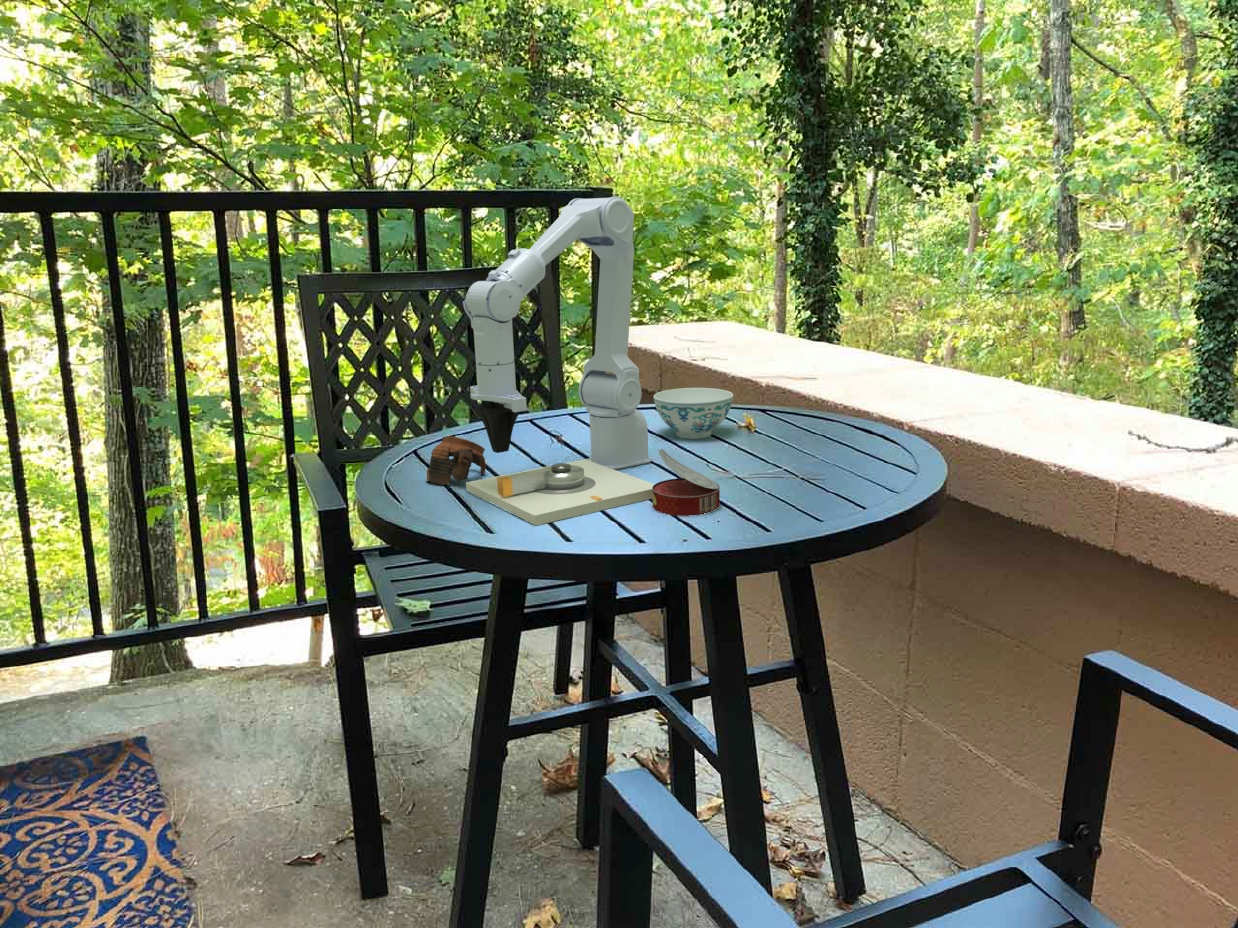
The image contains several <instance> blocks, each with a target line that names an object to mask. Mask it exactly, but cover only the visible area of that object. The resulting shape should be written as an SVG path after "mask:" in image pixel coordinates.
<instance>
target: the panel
mask: <svg viewBox="0 0 1238 928" xmlns="http://www.w3.org/2000/svg"><path fill="white" fill-rule="evenodd" d="M585 459H586V458H584V459H579V460H573V461H568V462H565V463H566V464H570V465H574V466H579V467H582V468H583V469H584V484H583V485H582V486H580V487H577V488H572V489H565V490H551V489H545V488H543V489H539V490H534V491H529V492H524V493H519V494H515V495H510V496H505V497H503V496H501V495H499V494H498V485H497V477H501V476H506V475H511V474H516V473H521V472H527V471H532V470H537V469H542V468H545V467H549V466H550V465H548V466H543V467H538V468H533V469H528V470H523V471H518V472H517V471H516V472H512V473H508V474H502V475H498V476H492V477H486V478H482V479H477V480H473V481H472V480H471V481H467V482H465V488H466V490H467V491H469V492H470V493H473V494H474V495H476V496H478V497H480V498H482V499H484V500H486V501H488V502H492V503H494V504H495V505H498V506H499V507H501V508H503V509H505V510H507V511H509V512H511V513H513V514H514V515H516V516H518V517H520V518H522V519H524V520H526V521H527V522H526V521H525V522H526V523H528V522H529V523H528V524H530V523H531V524H530V525H532V524H533V526H540V525H544V524H548V523H552V522H553V521H554V522H557V521H561V520H566V519H570V518H574V517H579V516H583V515H584V516H585V515H587V514H591V513H596V512H601V511H605V510H609V509H614V508H617V507H621V506H626V505H631V504H634V503H639V502H640V503H641V502H643V501H647V500H653V494H652V487H653V486H654V485H655V484H656V483H653V482H650V481H646V480H644V479H641V478H638V477H635V476H632V475H630V474H627V473H625V472H621V471H619V470H617V469H615V470H613V469H610V468H608V467H605V466H602V465H599V464H596V463H594V462H591V461H588V460H585ZM466 490H465V491H466ZM470 493H469V494H470ZM474 495H473V496H474ZM476 496H475V497H476ZM478 497H477V498H478ZM480 498H479V499H480ZM482 499H481V500H482ZM484 500H483V501H484ZM486 501H485V502H486ZM488 502H487V503H488ZM514 515H513V516H514ZM516 516H515V517H516ZM518 517H517V518H518ZM520 518H519V519H520ZM522 519H521V520H522ZM524 520H523V521H524Z"/></svg>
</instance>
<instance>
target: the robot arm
mask: <svg viewBox="0 0 1238 928" xmlns="http://www.w3.org/2000/svg"><path fill="white" fill-rule="evenodd" d="M634 222H635V212H634V211H633V210H632V208H631V207H630V206H629V205H628V203H627V201H626V200H625V199H624V198H622V197H621V196H611V197H597V198H596V197H594V198H583V197H582V198H581V197H580V198H579V197H577V198H573V199H572V200H570V201H569V202H568V204H567V205H565V206H563V207H562V208H561V209H560V214H559V216H558V218H557V219H556V220H554V222H553V223H552V224H551V225H550V226H549V227H548V228H547V229H546V230H545V231H544V233H542V235H540V237H539V238H538V239H537V240H536V241H535V242H534V243H533V244H532V246H531V247H530V248H529V249H528V248H526V247H524V248H522V247H521V248H518V249H512V250H510V251H509V252H508V253H507V256H508V258H507V259H505V261H504V262H502V263H501V264H500V265H499V266H498V267H496V269H494V270H493V269H492V270H490V271H489V273H488V274H487V275H488V276H487V278H486V279H485V280H478V281H475V282H473V283H472V284H471V286H470V287H469V289H468V290H467V292H466V295H465V299H464V300H463V301H462V305H463V306H462V307H463V309H464V311H465V314H466V315H467V316H468V317H469V319H470V327H471V328H472V330H473V339H474V340H473V341H474V353H475V355H474V356H475V366H476V367H475V369H476V383H477V385H472V386H470V387H469V391H470V399H471V400H474V401H483V402H484V403H483V405H478V406H475V412H476V413H477V415H478V416H479V418H480V419H481V421H482V423H483V425H484V428H485V431H486V433H487V437H488V440H489V444H490V447H491V450H492V452H493V453H496V454H499V453H504V452H509V449H510V444H511V440H512V435H513V430H514V426H515V423H516V421H517V419H518V416H519V415H520V412H525V411H526V412H527V398H526V397H525V396H523V395H522V394H521V393H520V392H519V391H518V390H517V385H516V381H517V380H516V364H515V350H514V333H513V332H514V331H513V319H514V318H515V317H517V315H518V314H519V311H520V307H521V302H522V301H523V300H524V298H525V297H526V296H527V295H528V294H529V293H530V292H531V291H532V290H533V289H534V288H536V286H537V285H539V283H540V282H541V281H542V280H544V278H545V277H546V266H547V265H548V264H549V263H550V262H552V261H553V260H554V259H556V258H557V257H558V256H559V255H560V254H561V253H562V252H564V251H565V250H566V249H567V248H569V247H570V246H571V245H572V244H573V243H575V242H576V241H579V242H580V243H582V244H583V245H585V246H586V247H588V248H589V249H591V250H592V251H593V252H594V254H596V255H597V257H598V259H599V260H600V261H599V274H598V275H599V278H598V290H597V291H598V293H597V294H598V295H597V310H596V326H595V327H596V328H595V329H596V330H595V345H594V348H595V349H594V355H592V357H590V358H589V359H588V360H587V361H586V362H585V364H584V365H583V372H582V373H583V374H582V377H581V380H580V382H579V385H578V397H579V400H580V401H581V404H582V405H583V406H585V407H586V411H585V412H586V413H588V414H589V430H590V431H589V435H590V437H589V438H590V439H589V440H590V454H591V455H590V457H588V458H584V459H585V460H588V461H591V462H594V463H596V464H599V465H602V466H605V467H608V468H610V469H613V470H619V469H625V468H630V467H635V466H639V465H643V464H648V463H651V462H652V459H651V458H649V436H648V435H649V433H648V431H649V430H648V423H647V418H646V417H645V414H644V413H643V412H642V411H640V409H637V408H638V407H639V405H640V403H641V400H642V386H641V383H640V368H639V367H638V366H637V364H635V363H634V362H633V361H632V360H631V359H630V358H629V356H628V353H629V352H628V351H629V337H630V320H631V308H632V307H631V305H632V291H633V290H632V289H633V288H632V287H633V275H634V274H633V273H634V258H635V257H634V256H635V245H634V240H633V239H634V237H633V236H634ZM611 373H612V374H611Z"/></svg>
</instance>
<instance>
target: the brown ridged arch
mask: <svg viewBox="0 0 1238 928" xmlns="http://www.w3.org/2000/svg"><path fill="white" fill-rule="evenodd" d="M485 450H486V449H485V447H483V446H481V445H480V444H478V443H476V442H474V441H471V440H468V439H465V438H461V437H457V436H448V435H446V436H442V439H441V442H440V443H438V445H436V446H435V447H434V448H433V449H432V451H431V456H430V459H429V467H428V468H427V470H426V481H427V480H428V481H430V483H433V482H434V484H436V483H439V484H438V485H441V484H450V483H451V482H450V481H451V479H452V478H453V479H454V480H455V481H457V482H463V481H465V480H466V481H467V479H468V476H469V473H470V468H471V467H472V464H474V465H476V466H477V467H479V468H480V472H479V473H480V475H481V474H483V475H484V474H486V469H487V467H486V466H487V464H486V460H485V459H486V458H485V457H484V452H485ZM450 457H452V458H450Z"/></svg>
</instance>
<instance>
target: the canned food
mask: <svg viewBox="0 0 1238 928" xmlns="http://www.w3.org/2000/svg"><path fill="white" fill-rule="evenodd" d="M657 450H658V453H659V456H660V458H661V460H662V461H663V462H664V463H665V465H666V466H667V467H668V468H669V469H671V471H673V473H675V474H676V475H677V476H679V477H680V478H671V479H665V480H661V481H658V482H657V483H654V484H655V485H654V486H653V487H652V494H653V499H652V508H654V511H656V512H658V511H659V512H658V513H660V512H662V513H661V514H663V513H665V514H664V515H668V514H670V515H669V516H677V517H690V516H689V515H696V516H701V515H700V514H703V515H705V514H704V513H708V512H711V511H713V510H715V509H717V508H718V507H719V506H720V507H721V504H720V502H721V501H720V499H721V498H720V497H721V496H720V495H721V493H720V492H721V491H720V489H721V487H720V485H719V483H717V482H716V481H713V480H712V479H711V478H710V477H708V476H705V475H703V473H700V472H699V471H696V470H695V469H692V468H690V467H689V466H687V465H685V464H682V463H681V462H679V461H678V460H677V459H675V458H673V457H672V456H671V455H669V454H668V453H667V452H666V450H665V449H663V448H661V449H657ZM720 507H719V508H720ZM719 508H718V509H719ZM718 509H717V510H718ZM713 512H714V511H713ZM711 513H712V512H711ZM708 514H709V513H708Z"/></svg>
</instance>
